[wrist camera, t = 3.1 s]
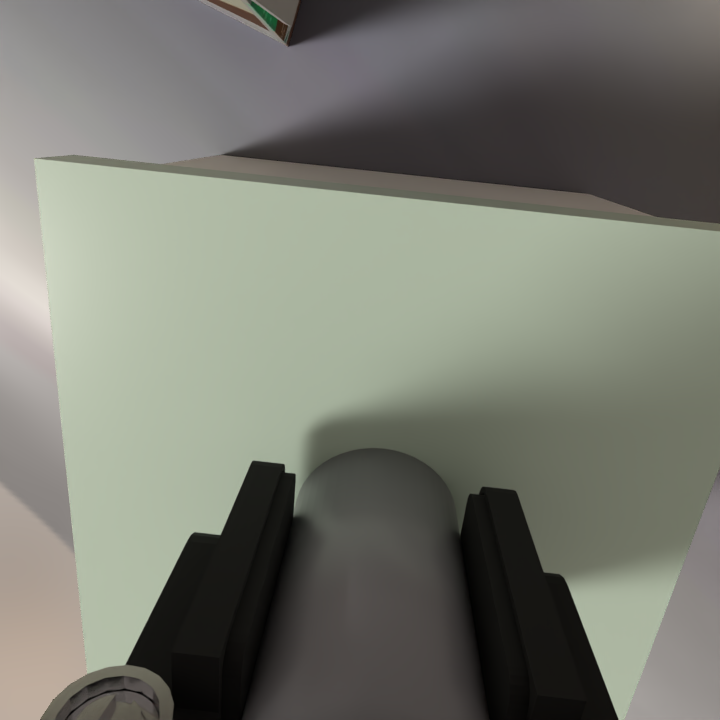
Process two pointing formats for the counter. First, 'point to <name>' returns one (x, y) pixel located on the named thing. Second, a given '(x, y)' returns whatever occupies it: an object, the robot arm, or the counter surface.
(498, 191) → the storage box
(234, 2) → the food container
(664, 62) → the counter surface
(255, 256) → the lid
